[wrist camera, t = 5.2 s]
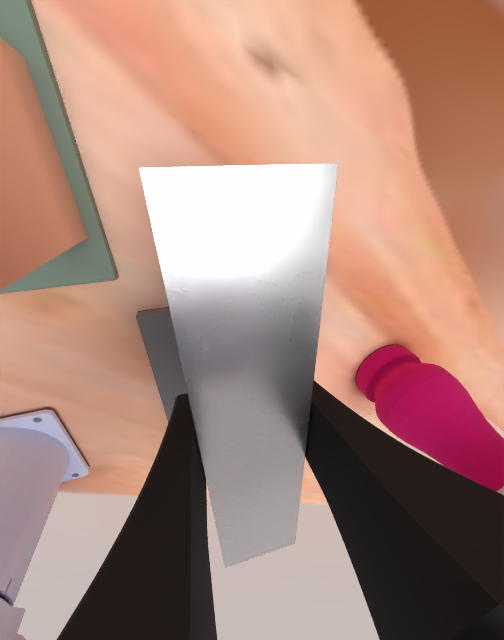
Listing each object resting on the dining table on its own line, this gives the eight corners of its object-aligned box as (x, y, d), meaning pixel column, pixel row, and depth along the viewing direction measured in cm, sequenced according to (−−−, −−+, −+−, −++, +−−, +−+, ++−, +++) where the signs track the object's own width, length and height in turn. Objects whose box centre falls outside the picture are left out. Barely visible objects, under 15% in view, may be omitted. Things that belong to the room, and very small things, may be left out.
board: (183, 462, 25) (183, 469, 24) (138, 311, 17) (136, 317, 16) (268, 439, 27) (271, 445, 26) (266, 292, 18) (270, 297, 18)
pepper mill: (343, 399, 27) (627, 769, 10) (361, 343, 24) (836, 759, 7) (398, 390, 29) (718, 689, 12) (422, 336, 25) (920, 649, 8)
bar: (213, 465, 16) (225, 567, 12) (161, 177, 8) (139, 168, 4) (265, 451, 17) (294, 543, 12) (262, 173, 9) (338, 163, 5)
